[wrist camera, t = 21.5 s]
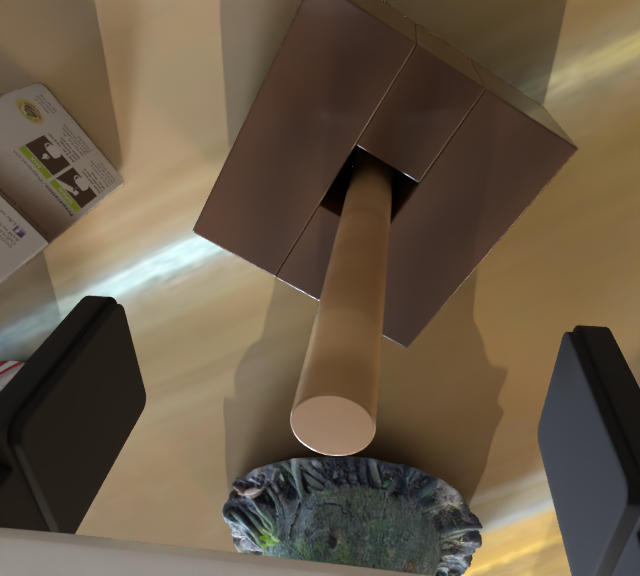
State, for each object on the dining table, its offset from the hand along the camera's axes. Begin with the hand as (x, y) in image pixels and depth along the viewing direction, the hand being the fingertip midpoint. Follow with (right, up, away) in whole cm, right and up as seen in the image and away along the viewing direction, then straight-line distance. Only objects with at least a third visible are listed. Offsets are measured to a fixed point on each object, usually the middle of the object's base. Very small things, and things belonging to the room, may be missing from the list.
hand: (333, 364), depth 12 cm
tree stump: (+2, -16, +30) cm, 33 cm away
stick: (+2, +8, +15) cm, 17 cm away
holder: (+2, +8, +15) cm, 17 cm away
